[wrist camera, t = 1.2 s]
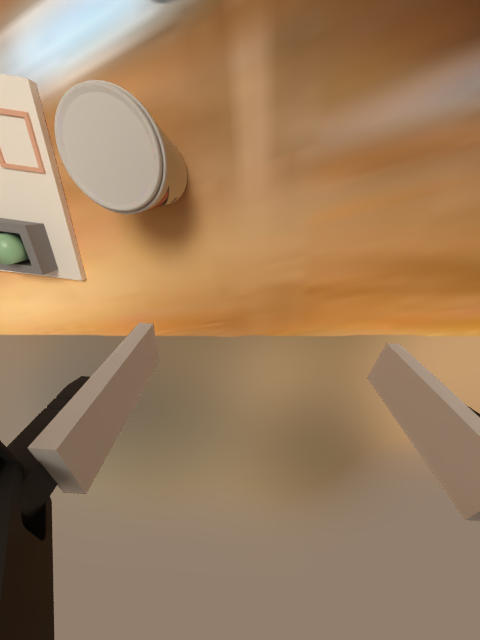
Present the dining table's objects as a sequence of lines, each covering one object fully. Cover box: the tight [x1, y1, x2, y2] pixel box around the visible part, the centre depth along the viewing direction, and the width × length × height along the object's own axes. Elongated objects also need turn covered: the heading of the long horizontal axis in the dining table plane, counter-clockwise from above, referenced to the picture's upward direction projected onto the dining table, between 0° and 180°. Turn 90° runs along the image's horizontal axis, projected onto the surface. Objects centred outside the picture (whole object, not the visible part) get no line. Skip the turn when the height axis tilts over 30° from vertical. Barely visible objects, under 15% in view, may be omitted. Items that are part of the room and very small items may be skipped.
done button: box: [0, 232, 29, 265], centre depth 29 cm, size 4×4×3 cm
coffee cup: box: [55, 80, 187, 214], centre depth 23 cm, size 9×9×12 cm
